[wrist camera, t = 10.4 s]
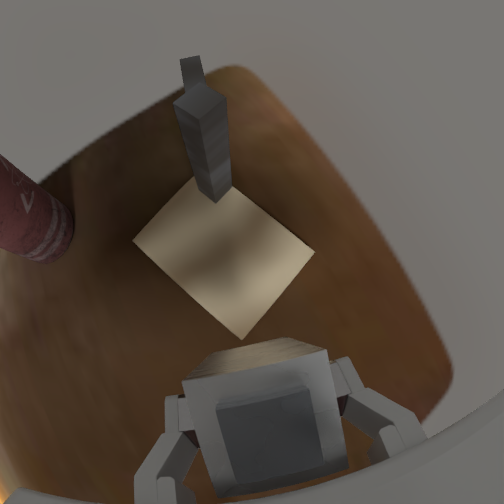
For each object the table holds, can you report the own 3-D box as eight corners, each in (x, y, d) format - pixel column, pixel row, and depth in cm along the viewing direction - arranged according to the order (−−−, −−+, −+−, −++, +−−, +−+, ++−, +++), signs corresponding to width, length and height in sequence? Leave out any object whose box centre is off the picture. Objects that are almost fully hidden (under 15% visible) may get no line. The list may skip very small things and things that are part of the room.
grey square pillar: (229, 421, 14) (216, 508, 6) (211, 352, 15) (176, 385, 7) (301, 405, 15) (355, 476, 6) (285, 336, 15) (332, 351, 7)
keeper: (126, 234, 25) (53, 170, 13) (208, 150, 27) (191, 51, 15) (241, 339, 23) (241, 357, 11) (324, 239, 25) (384, 174, 13)
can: (36, 204, 25) (-50, 140, 11) (82, 205, 25) (-8, 126, 11) (23, 260, 24) (-78, 218, 10) (68, 268, 24) (-43, 220, 10)
